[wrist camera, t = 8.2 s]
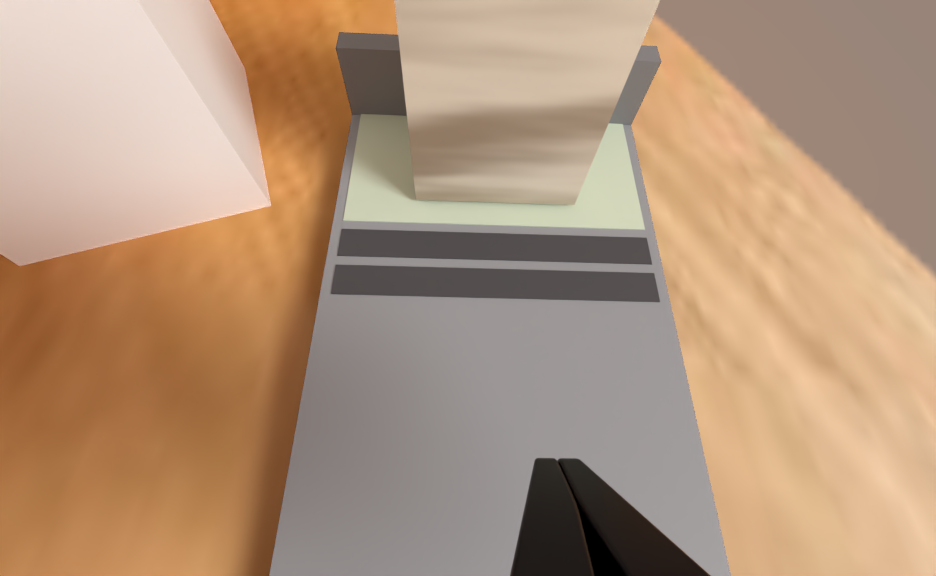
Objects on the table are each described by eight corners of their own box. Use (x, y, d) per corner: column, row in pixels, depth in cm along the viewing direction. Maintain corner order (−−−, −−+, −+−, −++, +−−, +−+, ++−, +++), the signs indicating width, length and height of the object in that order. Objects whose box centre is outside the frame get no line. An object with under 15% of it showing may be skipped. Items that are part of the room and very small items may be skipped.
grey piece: (728, 668, 15) (860, 746, 10) (267, 669, 15) (177, 751, 10) (618, 129, 27) (656, 46, 22) (359, 120, 26) (339, 32, 22)
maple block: (574, 204, 22) (695, -83, 11) (415, 200, 22) (383, -100, 11) (565, 132, 24) (658, -165, 13) (421, 127, 24) (399, -181, 13)
